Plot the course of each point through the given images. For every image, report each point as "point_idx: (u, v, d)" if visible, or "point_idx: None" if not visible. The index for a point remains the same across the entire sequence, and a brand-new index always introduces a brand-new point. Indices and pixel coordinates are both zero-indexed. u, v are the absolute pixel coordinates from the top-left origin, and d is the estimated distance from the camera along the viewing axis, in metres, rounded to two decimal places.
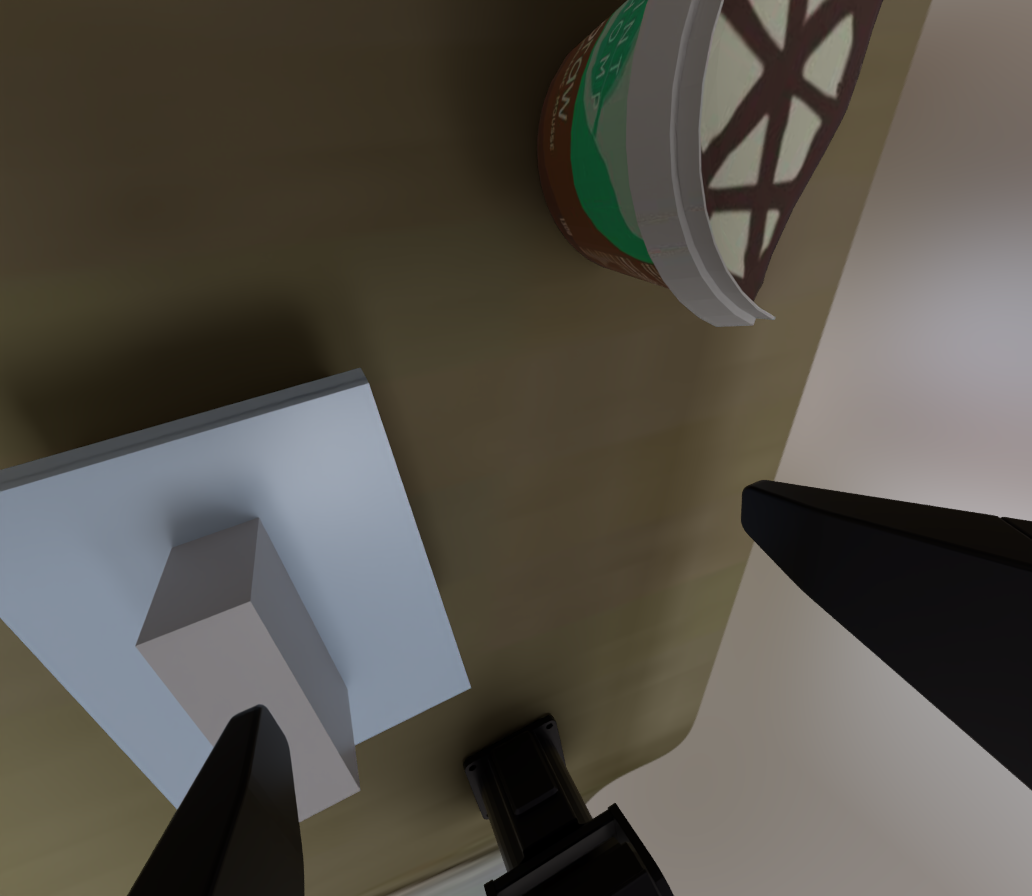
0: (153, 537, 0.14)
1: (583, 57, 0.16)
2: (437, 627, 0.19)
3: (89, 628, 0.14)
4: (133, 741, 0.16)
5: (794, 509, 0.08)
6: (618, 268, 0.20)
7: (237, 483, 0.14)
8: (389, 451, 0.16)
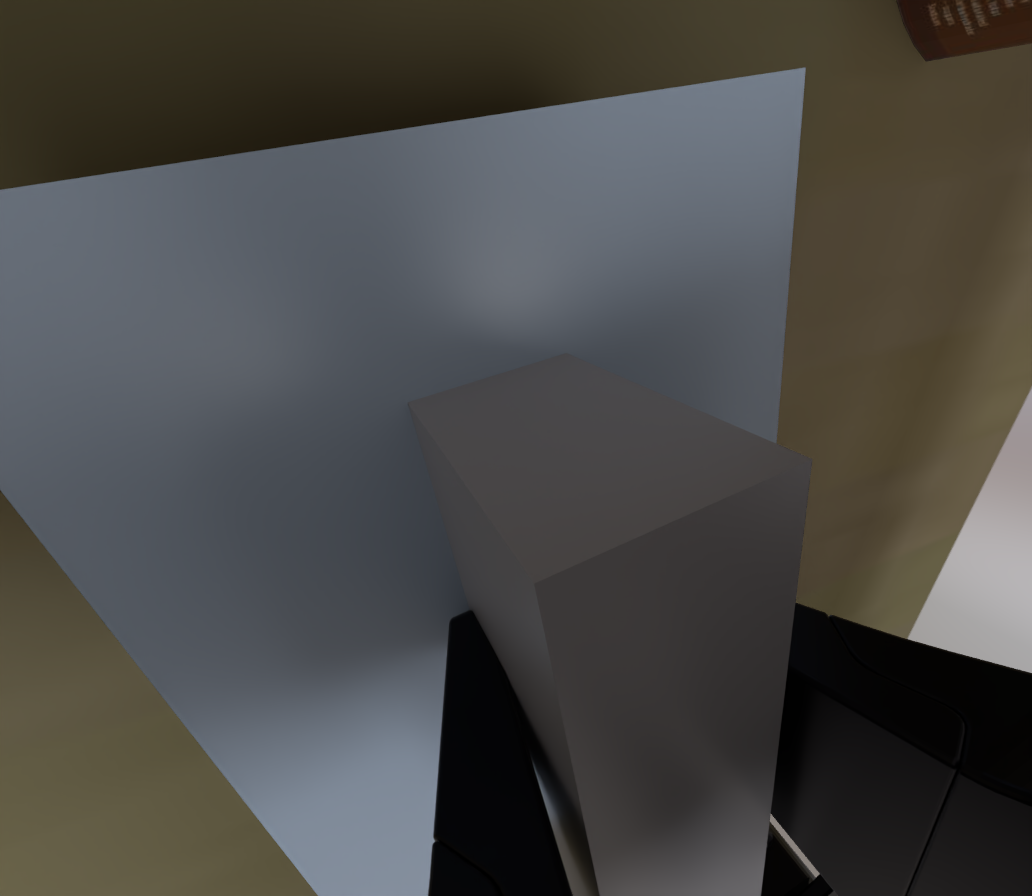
0: (377, 373, 0.06)
1: None
2: None
3: (229, 577, 0.06)
4: (282, 806, 0.08)
5: None
6: (1020, 20, 0.12)
7: (548, 264, 0.07)
8: (789, 242, 0.08)
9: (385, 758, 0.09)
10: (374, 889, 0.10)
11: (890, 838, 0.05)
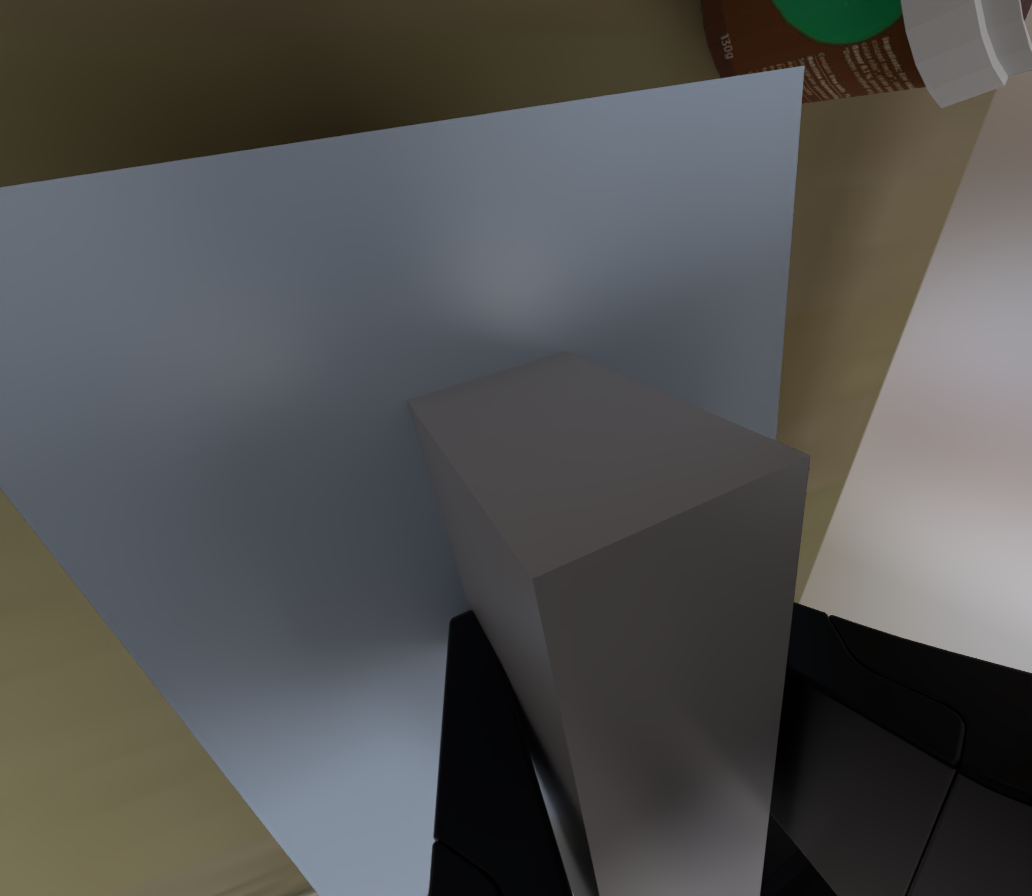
0: (376, 371, 0.06)
1: None
2: None
3: (228, 575, 0.06)
4: (282, 805, 0.08)
5: None
6: None
7: (547, 262, 0.07)
8: (788, 240, 0.08)
9: (385, 756, 0.09)
10: (374, 887, 0.10)
11: (890, 838, 0.05)
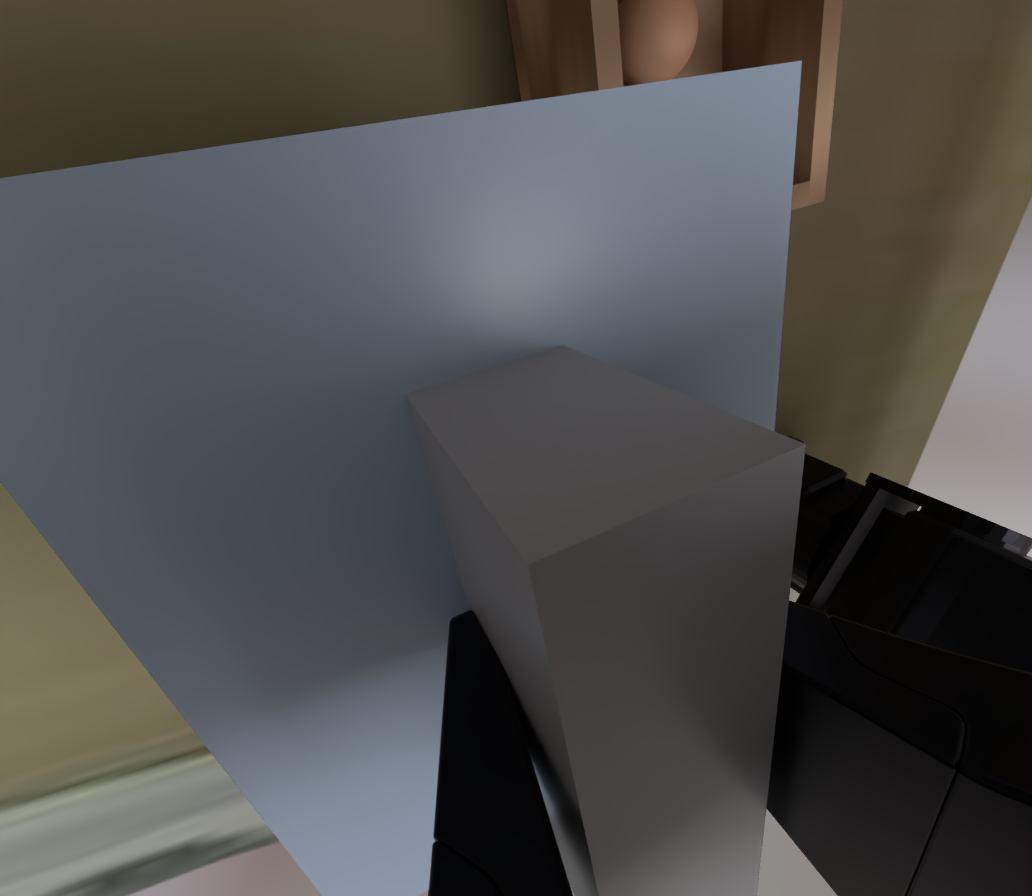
0: (374, 365, 0.06)
1: None
2: None
3: (227, 568, 0.06)
4: (280, 799, 0.08)
5: None
6: None
7: (545, 256, 0.07)
8: (786, 235, 0.08)
9: (383, 751, 0.09)
10: (373, 883, 0.10)
11: (890, 838, 0.05)
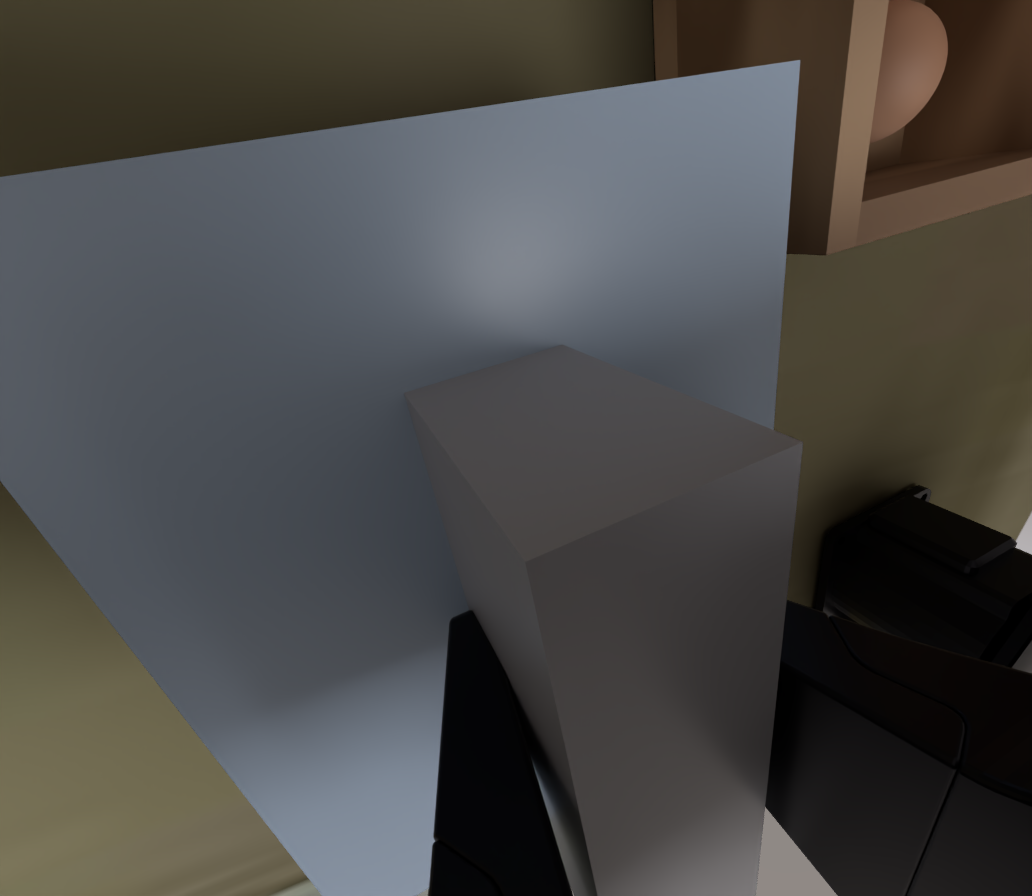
0: (373, 363, 0.06)
1: None
2: None
3: (226, 567, 0.06)
4: (280, 798, 0.08)
5: None
6: None
7: (543, 255, 0.07)
8: (784, 234, 0.08)
9: (383, 750, 0.09)
10: (372, 882, 0.10)
11: (890, 838, 0.05)
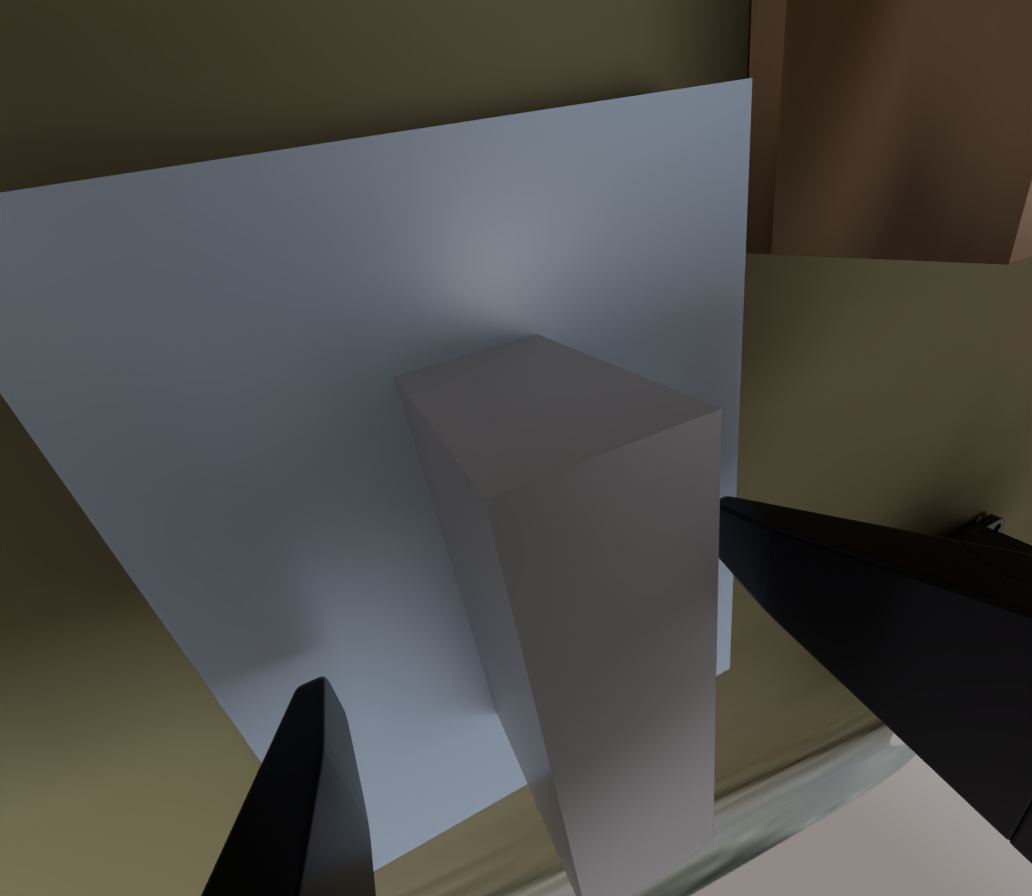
0: (367, 349, 0.07)
1: None
2: (718, 570, 0.12)
3: (235, 532, 0.07)
4: None
5: (755, 528, 0.08)
6: None
7: (520, 253, 0.07)
8: (743, 235, 0.09)
9: (377, 709, 0.10)
10: None
11: None
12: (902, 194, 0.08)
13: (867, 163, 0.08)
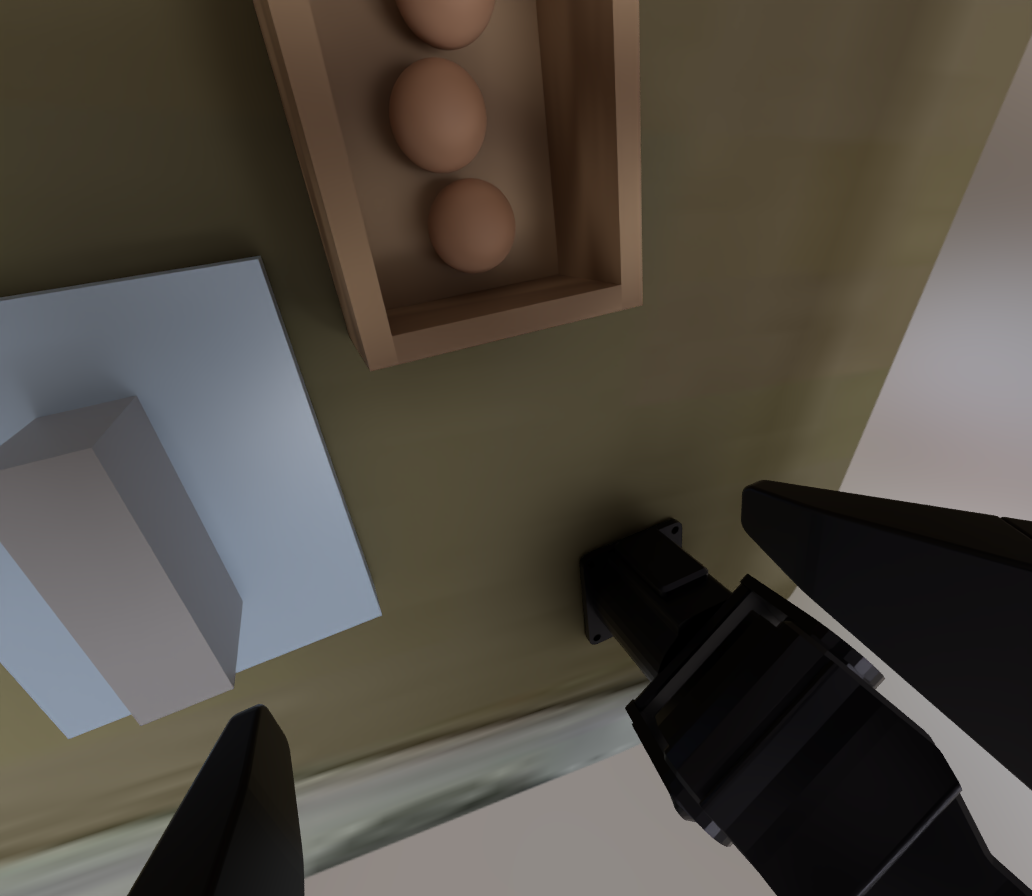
0: (14, 404, 0.13)
1: None
2: (342, 543, 0.19)
3: None
4: None
5: (794, 509, 0.08)
6: None
7: (110, 353, 0.14)
8: (283, 339, 0.15)
9: None
10: (76, 704, 0.17)
11: None
12: (352, 324, 0.14)
13: (345, 303, 0.15)
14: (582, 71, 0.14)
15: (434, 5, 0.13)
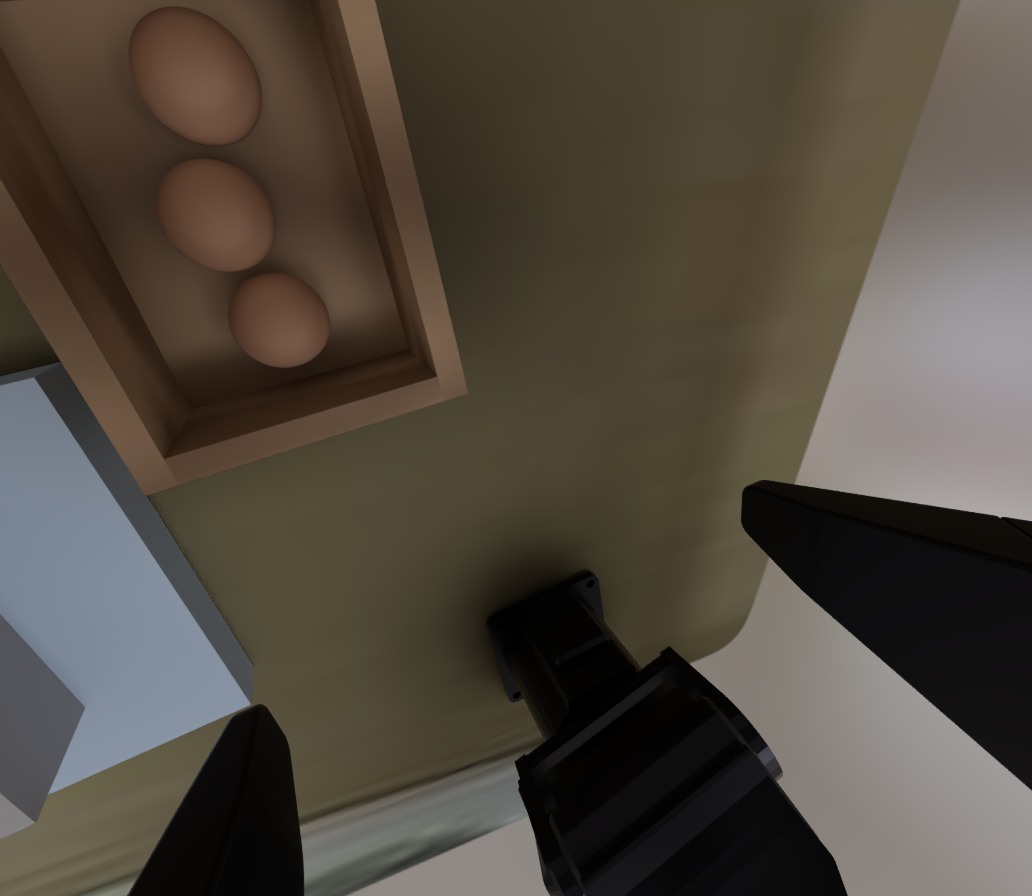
0: None
1: None
2: (191, 641, 0.18)
3: None
4: None
5: (794, 509, 0.08)
6: None
7: None
8: (80, 452, 0.14)
9: None
10: None
11: None
12: None
13: None
14: (368, 159, 0.13)
15: (175, 111, 0.12)
